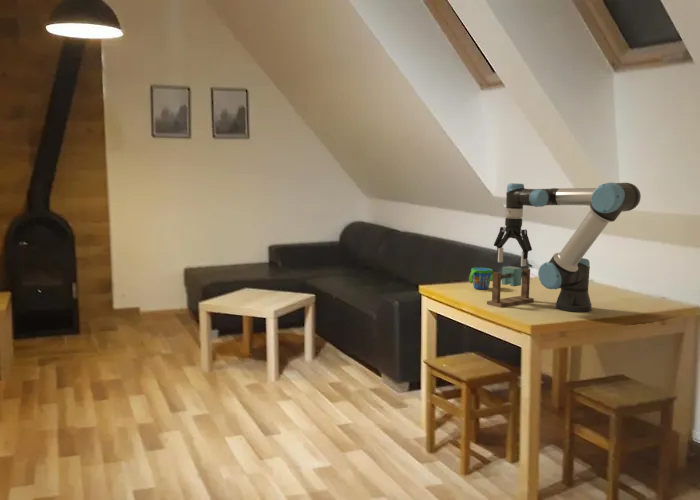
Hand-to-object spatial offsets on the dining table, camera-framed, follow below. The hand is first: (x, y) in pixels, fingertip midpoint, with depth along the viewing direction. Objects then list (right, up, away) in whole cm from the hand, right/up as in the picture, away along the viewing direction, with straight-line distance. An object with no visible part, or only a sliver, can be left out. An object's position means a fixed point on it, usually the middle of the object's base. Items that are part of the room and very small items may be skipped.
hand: (511, 264), depth 332 cm
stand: (0, -18, +2) cm, 18 cm away
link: (0, -10, +1) cm, 10 cm away
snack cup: (-7, -13, +38) cm, 41 cm away
